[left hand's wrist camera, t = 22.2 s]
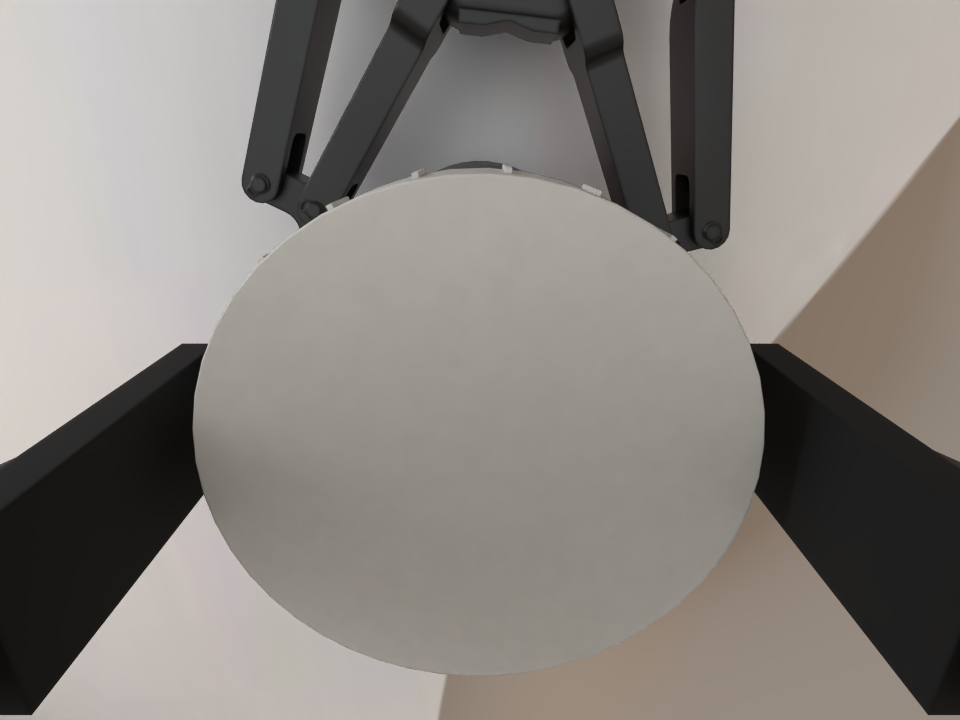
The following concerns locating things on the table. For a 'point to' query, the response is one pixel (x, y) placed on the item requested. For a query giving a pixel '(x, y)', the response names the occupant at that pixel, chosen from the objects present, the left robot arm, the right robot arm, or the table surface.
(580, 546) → the lid
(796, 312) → the table surface
